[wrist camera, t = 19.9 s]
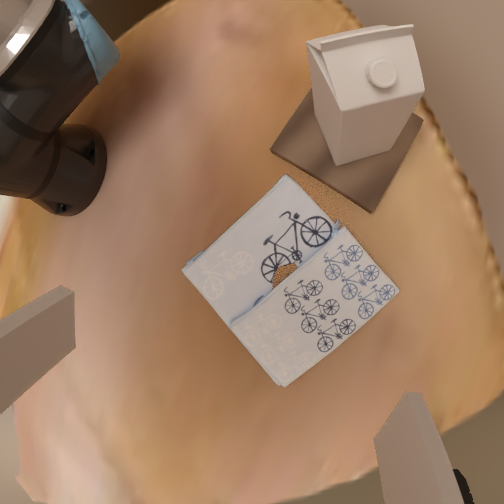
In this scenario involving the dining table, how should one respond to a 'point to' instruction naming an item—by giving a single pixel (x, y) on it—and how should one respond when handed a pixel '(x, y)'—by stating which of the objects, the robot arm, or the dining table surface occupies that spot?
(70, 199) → the robot arm
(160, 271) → the dining table surface
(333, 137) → the milk carton
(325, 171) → the walnut board
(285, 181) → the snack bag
